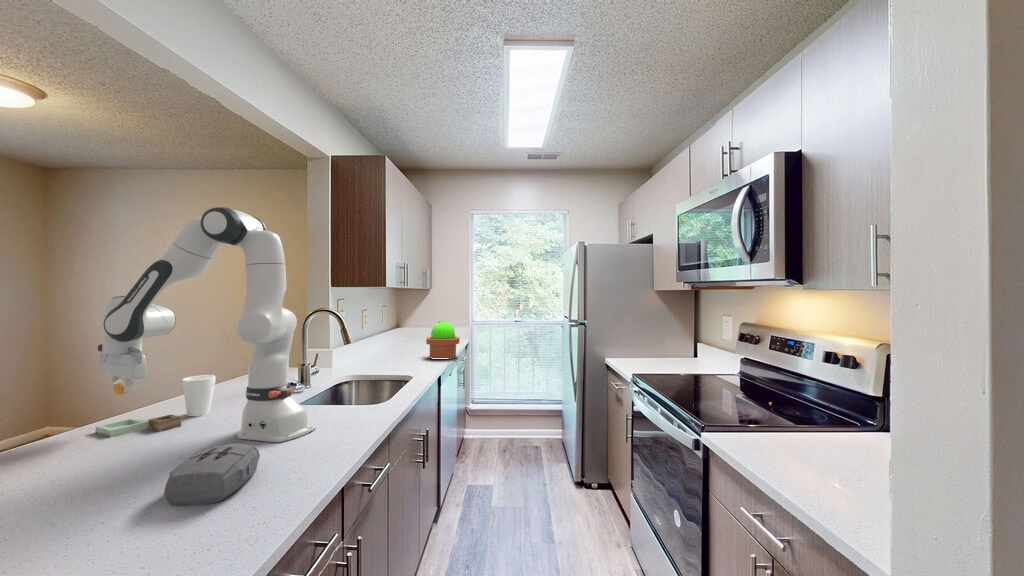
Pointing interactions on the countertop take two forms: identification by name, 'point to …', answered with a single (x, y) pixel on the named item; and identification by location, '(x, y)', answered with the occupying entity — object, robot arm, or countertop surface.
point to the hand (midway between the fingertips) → (122, 390)
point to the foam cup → (198, 394)
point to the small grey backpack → (211, 475)
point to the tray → (121, 427)
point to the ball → (119, 388)
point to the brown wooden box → (164, 423)
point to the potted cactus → (442, 341)
